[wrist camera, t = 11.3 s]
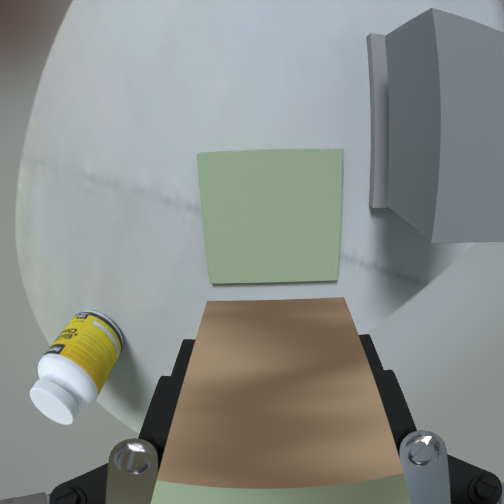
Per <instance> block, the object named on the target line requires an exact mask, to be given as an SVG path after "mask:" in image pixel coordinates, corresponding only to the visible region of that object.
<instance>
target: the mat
mask: <svg viewBox="0 0 504 504" xmlns="http://www.w3.org/2000/svg"><path fill="white" fill-rule="evenodd" d="M197 162H198V174H199V185H200V196H201V207H202V217H203V227H204V237H205V246H206V255H207V264H208V272H209V281H210V284H211V283H265V282H300V281H328V280H337V279H338V266H339V251H340V233H341V210H342V167H343V150H342V149H267V150H243V151H225V152H210V153H198V154H197Z"/></svg>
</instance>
